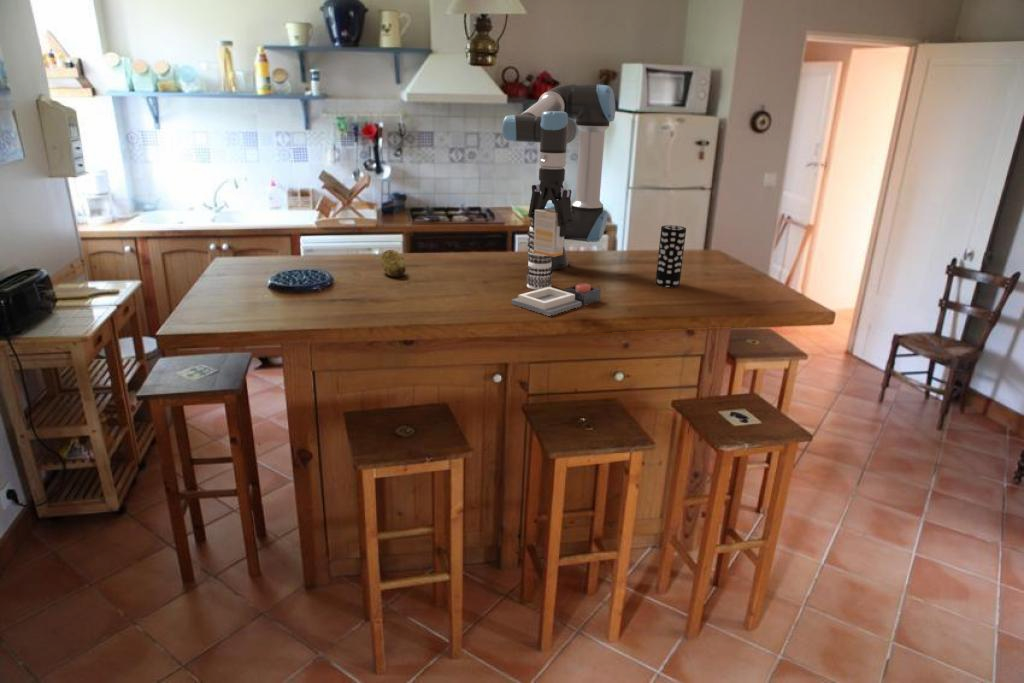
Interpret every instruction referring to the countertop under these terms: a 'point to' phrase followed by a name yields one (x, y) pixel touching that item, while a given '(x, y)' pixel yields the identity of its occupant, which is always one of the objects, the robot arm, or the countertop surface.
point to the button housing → (585, 295)
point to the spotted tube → (670, 256)
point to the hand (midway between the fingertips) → (548, 244)
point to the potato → (393, 263)
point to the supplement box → (546, 233)
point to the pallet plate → (547, 301)
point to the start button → (583, 287)
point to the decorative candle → (537, 265)
